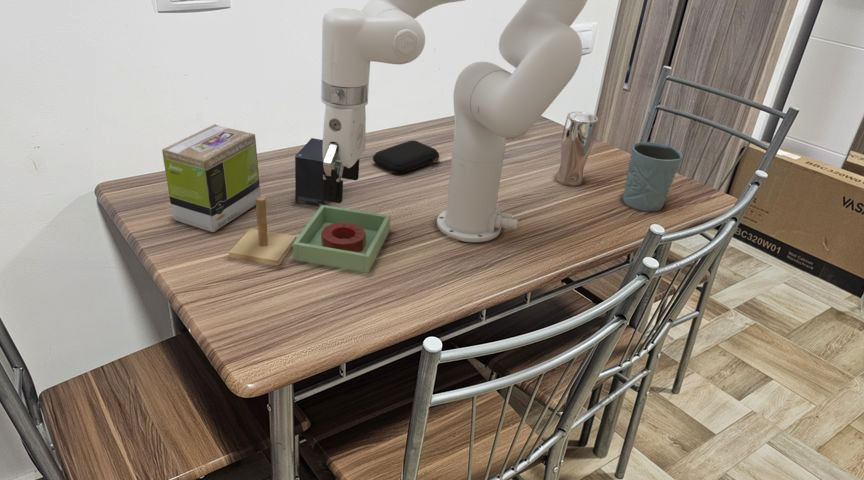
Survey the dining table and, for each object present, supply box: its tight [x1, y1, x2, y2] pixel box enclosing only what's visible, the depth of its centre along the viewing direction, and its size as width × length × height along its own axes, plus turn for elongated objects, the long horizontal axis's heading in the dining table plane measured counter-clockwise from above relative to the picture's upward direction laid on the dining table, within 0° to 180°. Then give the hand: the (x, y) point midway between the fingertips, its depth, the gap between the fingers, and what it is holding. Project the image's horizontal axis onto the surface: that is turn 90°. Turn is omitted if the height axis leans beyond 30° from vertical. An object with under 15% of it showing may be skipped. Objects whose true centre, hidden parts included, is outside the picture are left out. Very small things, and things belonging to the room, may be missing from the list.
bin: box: [292, 205, 391, 274], centre depth 124 cm, size 14×16×4 cm
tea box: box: [161, 123, 262, 233], centre depth 129 cm, size 15×10×15 cm, turn 154°
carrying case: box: [372, 140, 440, 175], centre depth 157 cm, size 11×3×15 cm
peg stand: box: [228, 195, 297, 267], centre depth 119 cm, size 9×9×10 cm
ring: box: [321, 223, 366, 252], centre depth 124 cm, size 8×8×2 cm
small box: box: [294, 137, 340, 208], centre depth 139 cm, size 11×6×10 cm, turn 168°
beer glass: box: [555, 111, 599, 187], centre depth 152 cm, size 7×7×15 cm
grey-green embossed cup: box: [622, 141, 683, 212], centre depth 145 cm, size 10×10×12 cm
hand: (341, 189), depth 119 cm, fingers open, 9 cm apart
